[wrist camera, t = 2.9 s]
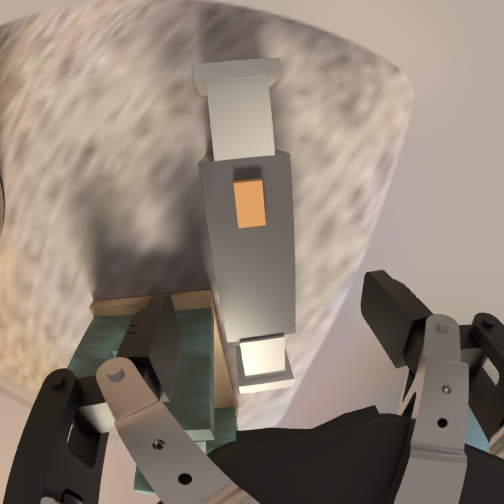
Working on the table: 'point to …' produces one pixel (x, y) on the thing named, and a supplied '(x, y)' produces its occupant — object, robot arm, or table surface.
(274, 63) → the power strip
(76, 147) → the table surface
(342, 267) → the table surface
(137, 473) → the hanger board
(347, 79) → the table surface
